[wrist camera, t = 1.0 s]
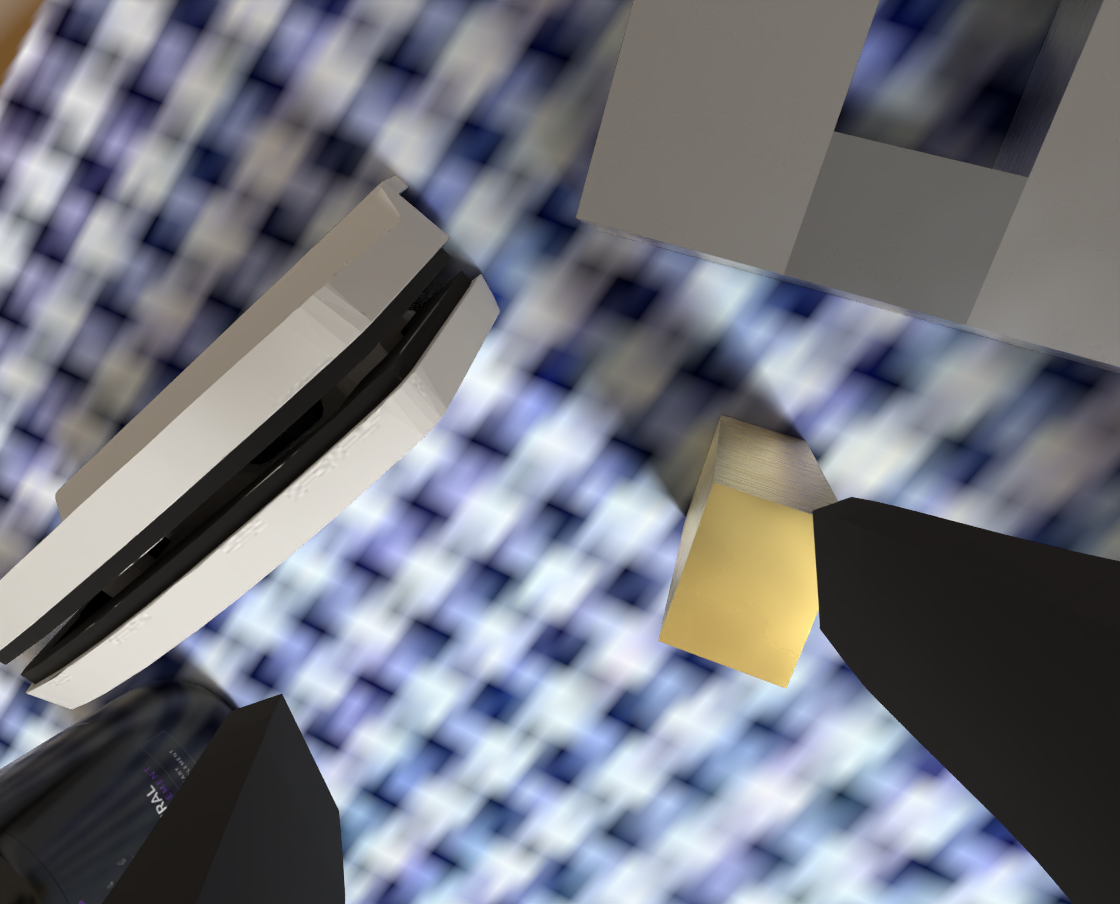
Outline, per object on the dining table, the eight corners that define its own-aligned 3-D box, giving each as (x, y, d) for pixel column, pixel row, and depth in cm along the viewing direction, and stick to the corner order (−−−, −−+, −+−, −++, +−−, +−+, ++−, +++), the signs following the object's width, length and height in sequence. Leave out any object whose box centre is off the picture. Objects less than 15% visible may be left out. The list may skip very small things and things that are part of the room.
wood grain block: (805, 441, 19) (852, 528, 12) (766, 544, 20) (786, 688, 13) (720, 414, 20) (713, 482, 12) (685, 517, 21) (658, 640, 13)
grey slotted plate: (1394, -135, 14) (1557, -243, 12) (1136, 378, 17) (1217, 393, 14) (727, -238, 17) (726, -350, 14) (598, 230, 20) (575, 218, 17)
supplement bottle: (301, 762, 26) (-38, 1123, 14) (213, 861, 28) (-145, 1245, 17) (168, 635, 26) (-268, 892, 15) (90, 743, 28) (-345, 1040, 17)
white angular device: (405, 165, 20) (274, 227, 12) (511, 291, 22) (468, 429, 13) (80, 473, 26) (-183, 680, 17) (186, 557, 27) (-2, 785, 18)
